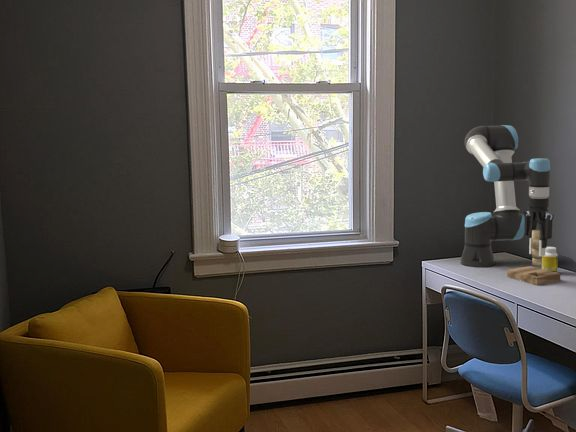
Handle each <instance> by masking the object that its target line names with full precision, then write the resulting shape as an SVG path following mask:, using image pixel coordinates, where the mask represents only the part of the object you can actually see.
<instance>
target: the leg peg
mask: <svg viewBox="0 0 576 432" xmlns="http://www.w3.org/2000/svg"><path fill="white" fill-rule="evenodd" d="M540 239H541V234H540V229H536V230H532V254H531V258H532V260H531V264H532V266H542V256H539V240H540Z"/></svg>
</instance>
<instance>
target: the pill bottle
mask: <svg viewBox="0 0 576 432" xmlns="http://www.w3.org/2000/svg"><path fill="white" fill-rule="evenodd" d="M558 261H559V255H558V253H557V247H556V246H555V247H554V246H547V247H546V252H545V256H542V265H541V269H544V270H548V271H552V272H555V273H558V265H559V262H558Z"/></svg>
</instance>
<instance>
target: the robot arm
mask: <svg viewBox="0 0 576 432" xmlns="http://www.w3.org/2000/svg"><path fill="white" fill-rule="evenodd" d="M517 132H518V131H517V130H516V128H515V126H512V125H507V124H505V125H504V124H501V125H480V126H479V125H478V126H476V127H474V128H472V129H471V130H469V132H467V134H466V136H465V137H464V147H465V150H467V151H468V153H469V154H470V155H473V156H474V157H475V159H476V160H477V161H478V162H479V164H480V165H481V166H482V175H483V176H482V177H483V179H484V180H485V181H486V182H493V183H494V185H493V186H494V194H495V206H496V207H495V210H494V211H493V213H492V212H488V211H481V212H474V213H473V212H472V213H470V214H468V215H466V217H465V219H464V248H463V251H462V254H461V256H460V264H461V265H464V266H467V267H475V268H483V267H484V268H485V267H486V268H487V267H492V266H494V265H495V264H496V262H495V257H494V253H493V249H492V242H494V241H497V242H498V241H515V240H516V241H517V240H521V239H523V237H524V236H527V237H528V241H527V242H528V246H529V247H528V249H529V251H528V252H529V253H528V254H529V255H532V230H537V225H538V227H539V230H540V234H541V239H540V240H539V256H545V252H546V247H548V240H551V239H552V237H553V236H552V235H553V221H554V220H553V219H554V217H555V215H554V214H550V213H549V211H548V208H549V205H550V199H549V197H550V180H551V178H550V176H551V175H550V172H551V161H550V159H549V158H543V157H542V158H539V157H538V158H531V159H530V160H529V161H523V162H513V161H512V160H513V159H512V156H513V155H514V154H515V150H517V148H518V147H519V136H518V133H517ZM517 181H518V182H520V181H521V182H522V181H528V196H529V198H528V207H529V208H528V211H523V212H522V213H523V214H522V213H521V210H520V208H518V207H517V203H516V201H517V200H516V192H515V191H516V190H515V182H517Z"/></svg>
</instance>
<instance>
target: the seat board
mask: <svg viewBox="0 0 576 432" xmlns="http://www.w3.org/2000/svg"><path fill="white" fill-rule="evenodd" d="M506 270H507V271H506V277H507V278H509V277H510V279H513V280H516V279H517V280H516V281H520V280H521V281H520V282H523V281H524V283H527V284H531V285H534V286H541V285H547V284H550V283H556V282H557V283H558V282H561V273H559V272H557V273H555V272H552V271H548V270H544V269H542V268H539V267H536V266H533V265H532V266H531V265H527V266H522V267H516V268H510V269H506Z"/></svg>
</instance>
